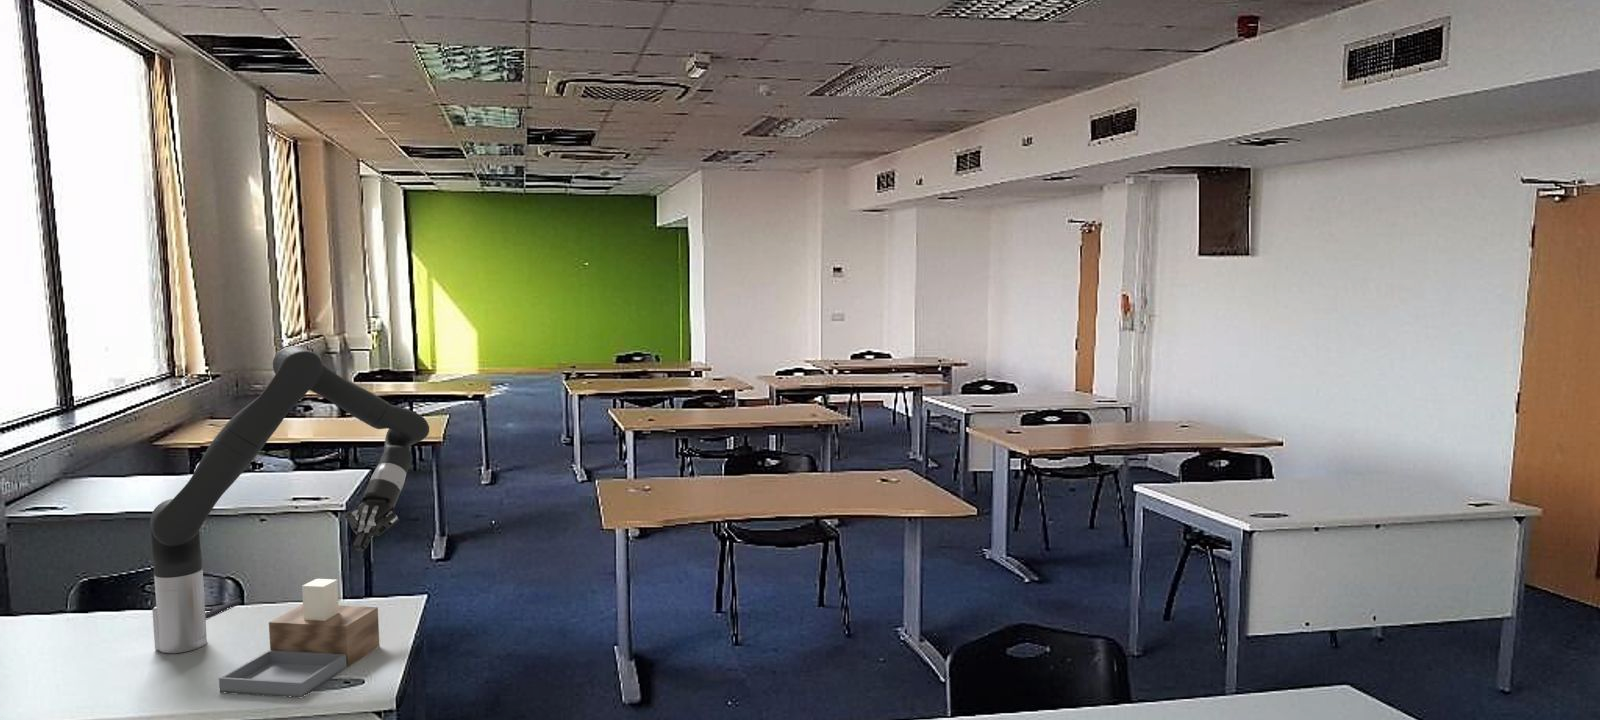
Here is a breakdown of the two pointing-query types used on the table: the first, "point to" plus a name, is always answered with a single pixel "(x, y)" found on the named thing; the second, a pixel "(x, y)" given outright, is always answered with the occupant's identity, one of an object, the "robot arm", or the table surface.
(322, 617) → the cream block
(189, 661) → the table surface
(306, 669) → the box
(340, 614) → the walnut platform
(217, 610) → the bracket
